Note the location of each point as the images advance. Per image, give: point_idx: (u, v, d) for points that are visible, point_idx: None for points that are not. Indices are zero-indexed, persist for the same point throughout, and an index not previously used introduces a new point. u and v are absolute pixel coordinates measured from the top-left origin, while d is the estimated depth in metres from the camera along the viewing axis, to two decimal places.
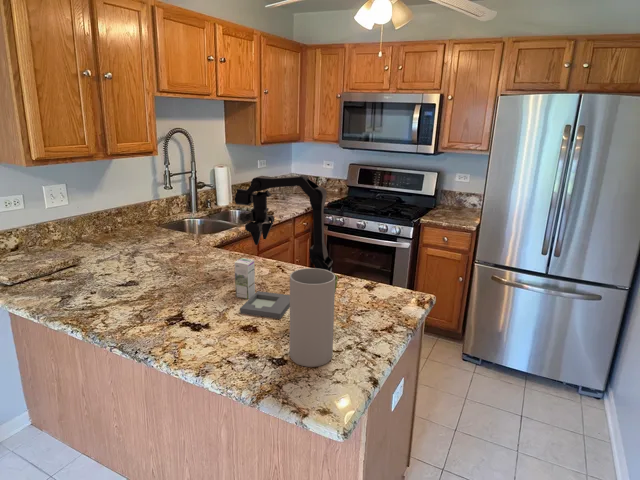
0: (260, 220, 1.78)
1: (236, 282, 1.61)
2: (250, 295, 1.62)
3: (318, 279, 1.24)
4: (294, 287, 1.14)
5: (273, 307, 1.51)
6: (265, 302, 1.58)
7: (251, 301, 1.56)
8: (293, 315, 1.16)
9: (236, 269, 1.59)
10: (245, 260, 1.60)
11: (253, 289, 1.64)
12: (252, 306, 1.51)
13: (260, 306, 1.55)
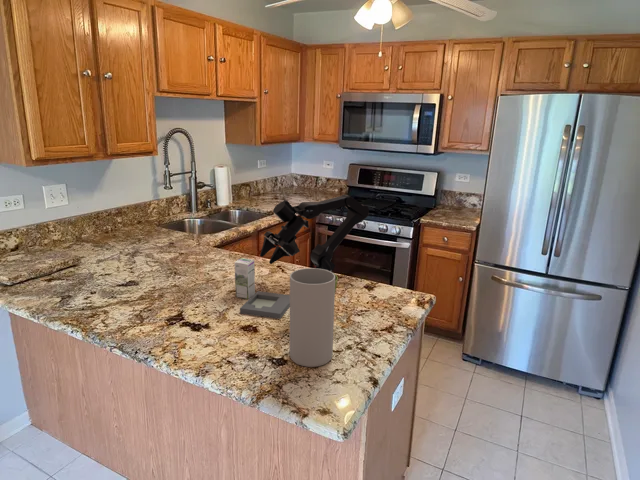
0: None
1: (236, 282, 1.61)
2: (250, 295, 1.62)
3: (318, 279, 1.24)
4: (294, 287, 1.14)
5: (273, 307, 1.51)
6: (265, 302, 1.58)
7: (251, 301, 1.56)
8: (293, 315, 1.16)
9: (236, 269, 1.59)
10: (245, 260, 1.60)
11: (253, 289, 1.64)
12: (252, 306, 1.51)
13: (260, 306, 1.55)
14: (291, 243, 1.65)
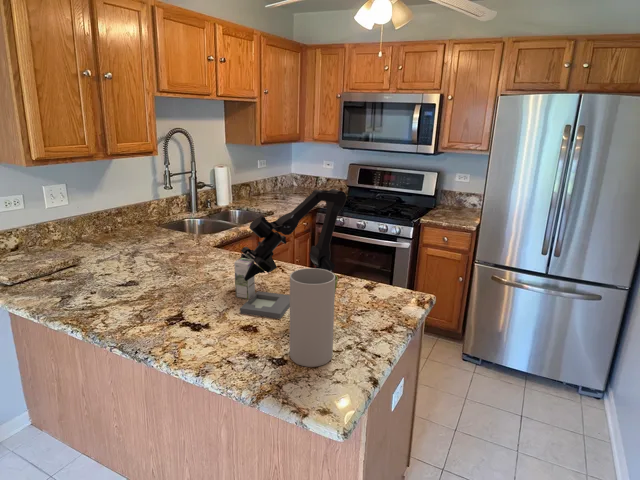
0: None
1: (236, 282, 1.61)
2: (250, 295, 1.62)
3: (318, 279, 1.24)
4: (294, 287, 1.14)
5: (273, 307, 1.51)
6: (265, 302, 1.58)
7: (251, 301, 1.56)
8: (293, 315, 1.16)
9: (236, 269, 1.59)
10: (245, 260, 1.60)
11: (253, 289, 1.64)
12: (252, 306, 1.51)
13: (260, 306, 1.55)
14: (268, 260, 1.62)
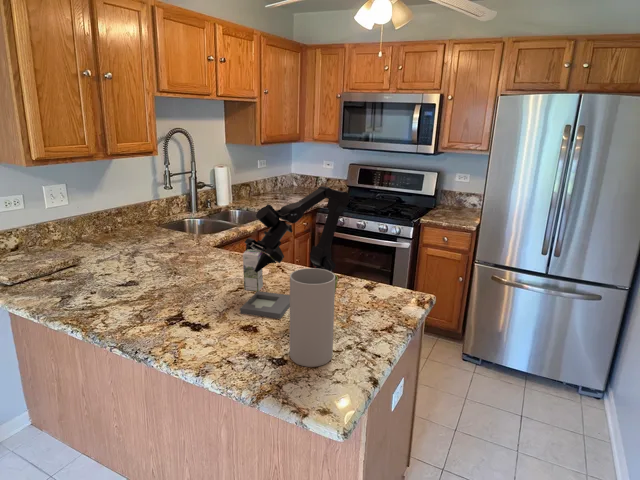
0: None
1: (245, 275, 1.55)
2: (259, 287, 1.57)
3: (318, 279, 1.24)
4: (294, 287, 1.14)
5: (273, 307, 1.51)
6: (265, 302, 1.58)
7: (251, 301, 1.56)
8: (293, 315, 1.16)
9: (245, 261, 1.53)
10: (253, 251, 1.55)
11: (261, 281, 1.59)
12: (252, 306, 1.51)
13: (260, 306, 1.55)
14: (276, 249, 1.58)
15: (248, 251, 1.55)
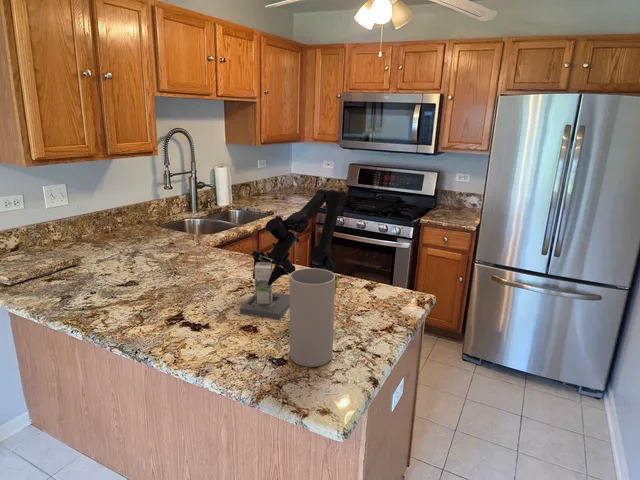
0: None
1: (256, 288, 1.52)
2: (271, 300, 1.55)
3: (318, 279, 1.24)
4: (294, 287, 1.14)
5: (273, 307, 1.51)
6: None
7: (251, 301, 1.56)
8: (293, 315, 1.16)
9: (257, 275, 1.50)
10: (264, 264, 1.52)
11: None
12: (252, 306, 1.51)
13: (260, 306, 1.55)
14: None
15: (259, 264, 1.52)
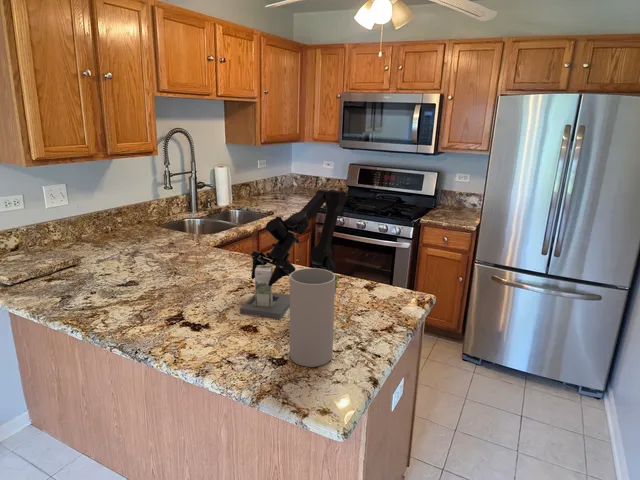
0: None
1: (257, 291, 1.52)
2: (271, 303, 1.55)
3: (318, 279, 1.24)
4: (294, 287, 1.14)
5: (273, 307, 1.51)
6: None
7: (251, 301, 1.56)
8: (293, 315, 1.16)
9: (257, 277, 1.51)
10: (264, 267, 1.53)
11: (272, 296, 1.57)
12: (252, 306, 1.51)
13: None
14: None
15: (259, 267, 1.53)
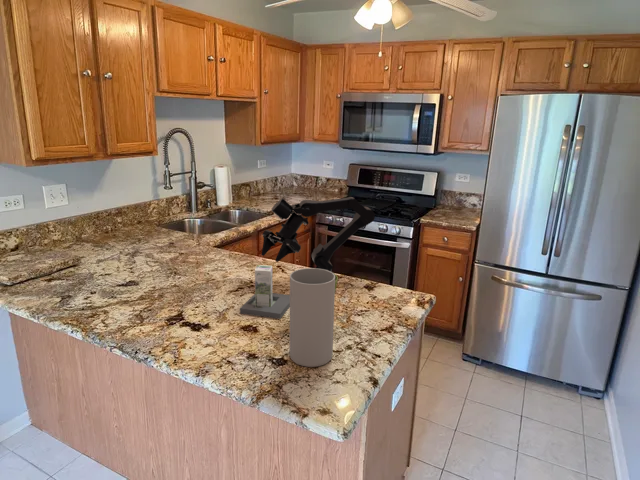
0: None
1: (257, 291, 1.52)
2: (271, 303, 1.55)
3: (318, 279, 1.24)
4: (294, 287, 1.14)
5: (273, 307, 1.51)
6: None
7: (251, 301, 1.56)
8: (293, 315, 1.16)
9: (257, 277, 1.51)
10: (264, 267, 1.53)
11: (272, 296, 1.57)
12: (252, 306, 1.51)
13: None
14: None
15: (259, 267, 1.53)
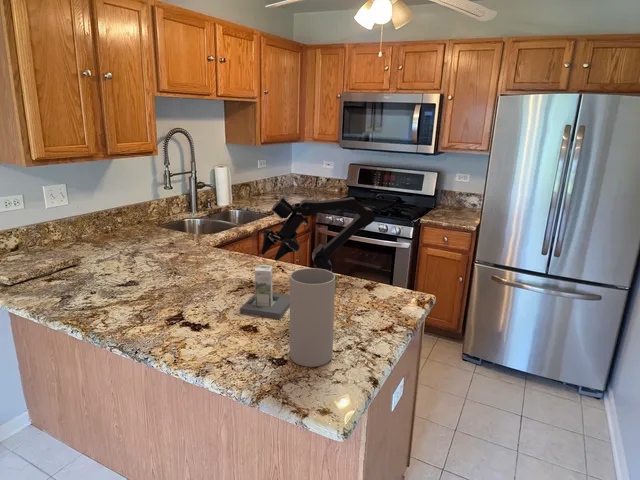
0: None
1: (257, 291, 1.52)
2: (271, 303, 1.55)
3: (318, 279, 1.24)
4: (294, 287, 1.14)
5: (273, 307, 1.51)
6: None
7: (251, 301, 1.56)
8: (293, 315, 1.17)
9: (257, 277, 1.51)
10: (264, 267, 1.53)
11: (272, 296, 1.57)
12: (252, 306, 1.51)
13: None
14: None
15: (259, 267, 1.53)
